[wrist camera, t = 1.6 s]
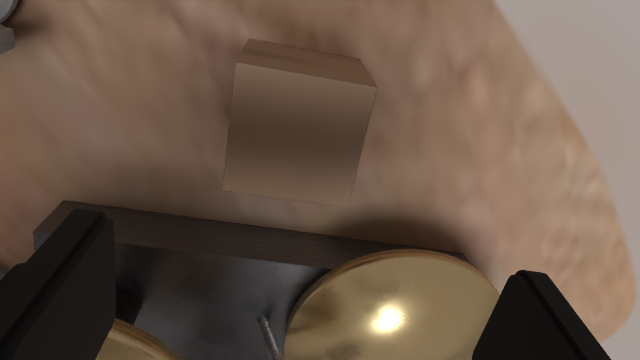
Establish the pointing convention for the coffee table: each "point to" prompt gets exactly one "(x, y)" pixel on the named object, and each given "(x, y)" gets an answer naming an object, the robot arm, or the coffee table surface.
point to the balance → (281, 293)
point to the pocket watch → (0, 38)
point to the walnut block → (297, 123)
